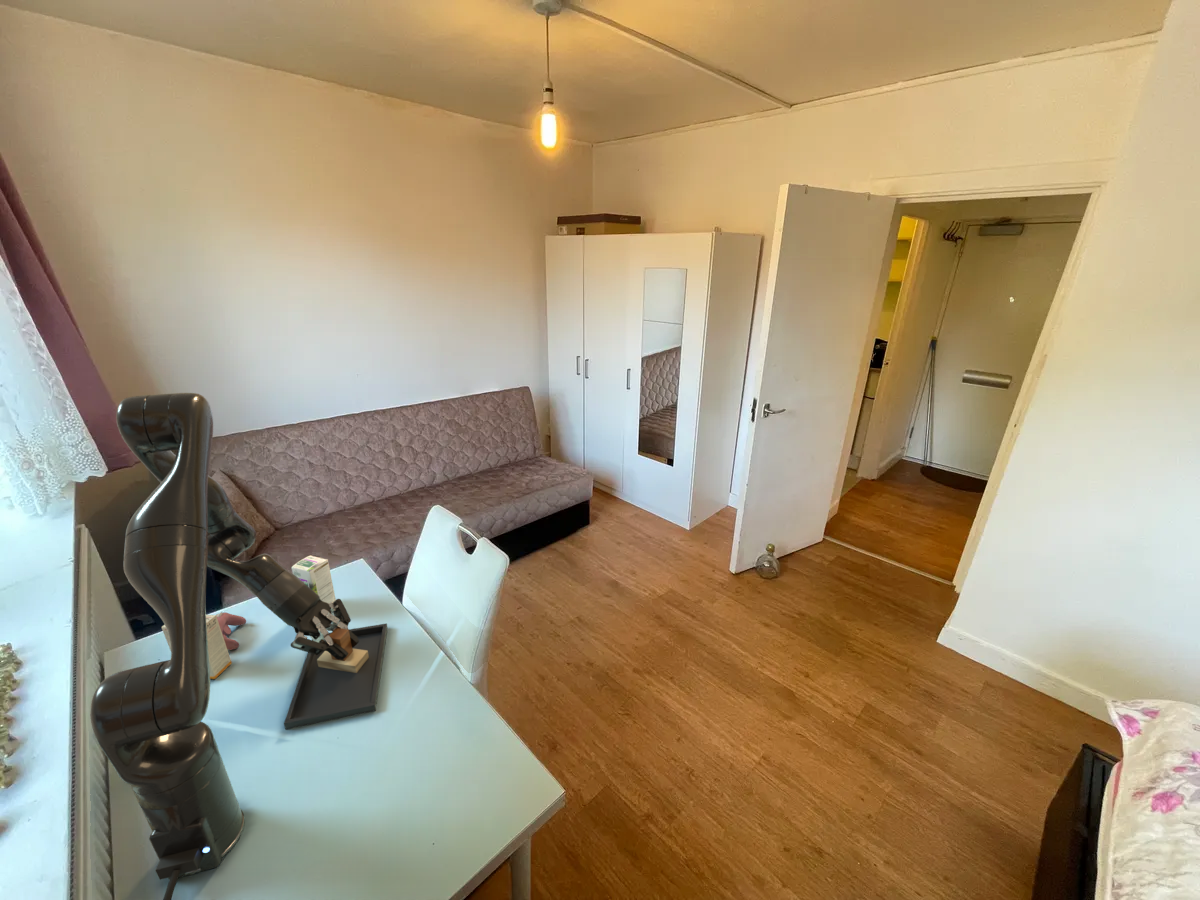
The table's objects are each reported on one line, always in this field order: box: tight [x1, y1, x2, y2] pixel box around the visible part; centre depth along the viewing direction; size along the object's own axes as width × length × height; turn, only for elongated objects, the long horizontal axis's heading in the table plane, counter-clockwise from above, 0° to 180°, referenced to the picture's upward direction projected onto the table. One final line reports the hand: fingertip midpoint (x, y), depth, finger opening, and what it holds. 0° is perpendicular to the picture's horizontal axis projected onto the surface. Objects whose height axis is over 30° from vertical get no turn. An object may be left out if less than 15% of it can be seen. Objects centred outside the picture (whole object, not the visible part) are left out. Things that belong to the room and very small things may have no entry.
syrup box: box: [291, 555, 337, 604], centre depth 119 cm, size 6×6×14 cm
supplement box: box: [161, 614, 233, 680], centre depth 102 cm, size 8×5×13 cm, turn 84°
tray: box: [283, 623, 389, 730], centre depth 104 cm, size 24×16×2 cm, turn 17°
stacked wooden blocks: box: [317, 628, 369, 673], centre depth 105 cm, size 9×4×8 cm, turn 81°
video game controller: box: [215, 612, 247, 651], centre depth 111 cm, size 10×5×7 cm, turn 25°
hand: (350, 650), depth 105 cm, fingers closed on stacked wooden blocks, 3 cm apart
